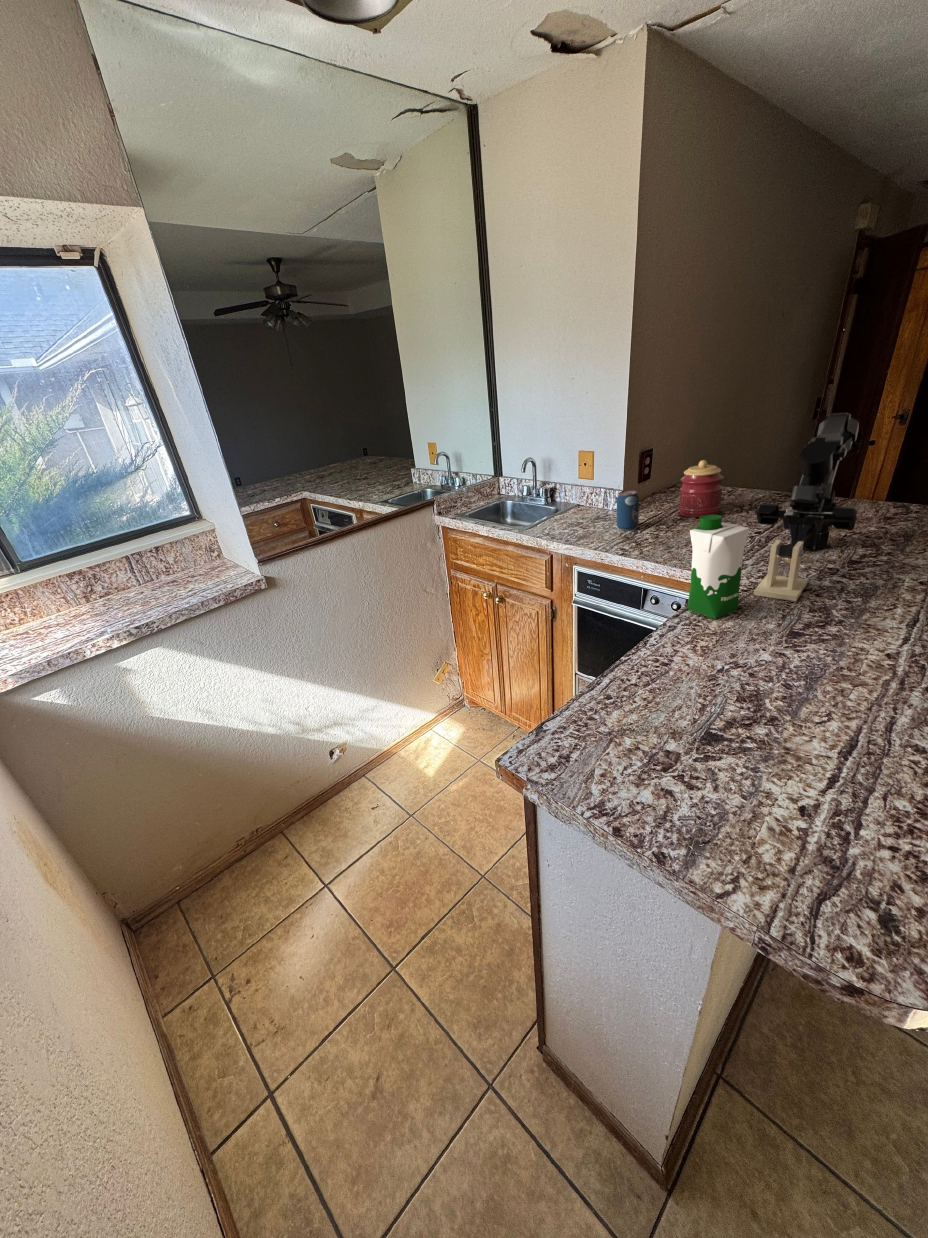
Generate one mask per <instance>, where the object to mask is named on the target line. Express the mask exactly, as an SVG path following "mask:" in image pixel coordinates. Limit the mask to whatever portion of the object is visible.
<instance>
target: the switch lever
mask: <svg viewBox="0 0 928 1238" xmlns="http://www.w3.org/2000/svg"><path fill="white" fill-rule="evenodd" d="M793 548H794V547H793V546H792V545H789V544H781V546H780V550H779V554H778V556H779V558H781V559H782V561H783V563H784V564H785V565H787V566H791V559H792V553H793ZM802 559H803V556H801V561H800V563H801V562H802Z"/></svg>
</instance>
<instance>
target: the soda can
mask: <svg viewBox="0 0 928 1238" xmlns="http://www.w3.org/2000/svg"><path fill="white" fill-rule="evenodd" d="M639 505H640V497H639V495H638V491H636V490H623V491H619V492H618V495H617V498H616V527H617V529H619V530H620V531H627V532H628V531H633V530H635V529H637V528H638V526H639V521H640V519H639V518H640V517H639V516H640V515H639V514H640V513H639V509H640V508H639V507H640V506H639Z"/></svg>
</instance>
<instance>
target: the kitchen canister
mask: <svg viewBox="0 0 928 1238" xmlns="http://www.w3.org/2000/svg"><path fill="white" fill-rule="evenodd" d="M721 472H722V468H720V467H718V466H717V465H715V464H708V461H707V460H705V459H701V460H700V461H699V462H698V465H694V466H693V465H692V466H690V467H688V469H686V470H684V471H683V474H684V476H682V477H681V478H680V482H681V487H680V497H679V506H678V507H679V508H678V510H679V514H680V515H681V516H683V517H689V518H700V517H701V516H703V515H719V513H720V512H721V509H722V493H723V488H724V487H723V485H722V481H723V480H724V478H725V477H724V475H723V474H721Z"/></svg>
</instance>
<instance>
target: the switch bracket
mask: <svg viewBox="0 0 928 1238" xmlns="http://www.w3.org/2000/svg"><path fill="white" fill-rule="evenodd" d="M782 542H783V540H782V539H776V540H775V541H774V542H773V544H771V546H770V547H769V560H768V566H767V567H768V568H767V574H766V575H765V576H764V578H763V579H762V580H761V581H760V583H759V584H758V585H757V586H756V587H755V589H754V591H753V596H759V597H765V598H771V599H777V600H779V599H780V600H785V601H792V602H797V601H798V599H799V598H800V596H801V594H802V593H803V591H804V590H805V588H806V587H807V584H808V579H806V578H799V573H800V566H801V562H802V560H801V556H802V557H803V556H804V553H805V552H804V551H805V550H804V549H803V544H804V542H802V541H798V542H797V544H796V545H795V546H794V548H793V553H792V559H791V566H790V567H789V572H788V576H781V575H778V569H779V562H780V557H779V556H778V554H779V550H780V546H781V545H782ZM800 561H801V562H800Z"/></svg>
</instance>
